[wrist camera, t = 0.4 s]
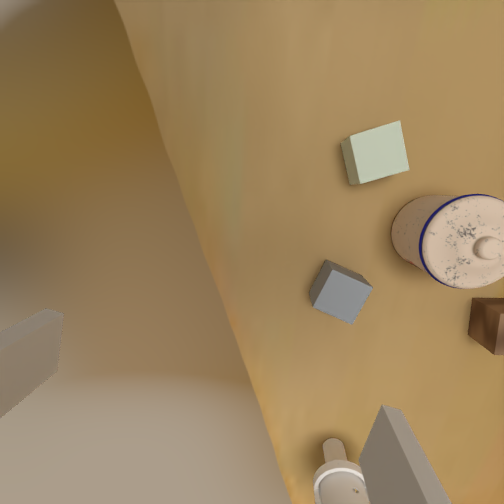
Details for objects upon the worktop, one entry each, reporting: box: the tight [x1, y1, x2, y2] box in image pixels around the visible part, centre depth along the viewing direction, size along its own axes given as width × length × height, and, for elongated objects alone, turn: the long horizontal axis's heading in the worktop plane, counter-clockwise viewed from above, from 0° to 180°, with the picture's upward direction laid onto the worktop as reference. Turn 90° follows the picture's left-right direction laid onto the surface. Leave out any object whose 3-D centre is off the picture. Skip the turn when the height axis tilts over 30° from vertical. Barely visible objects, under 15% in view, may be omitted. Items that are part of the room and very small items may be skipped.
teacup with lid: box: [391, 194, 504, 289], centre depth 31 cm, size 12×9×12 cm
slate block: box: [309, 260, 373, 324], centre depth 37 cm, size 5×5×5 cm
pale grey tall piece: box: [313, 438, 371, 504], centre depth 37 cm, size 7×7×15 cm
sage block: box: [340, 120, 409, 185], centre depth 33 cm, size 5×5×5 cm
